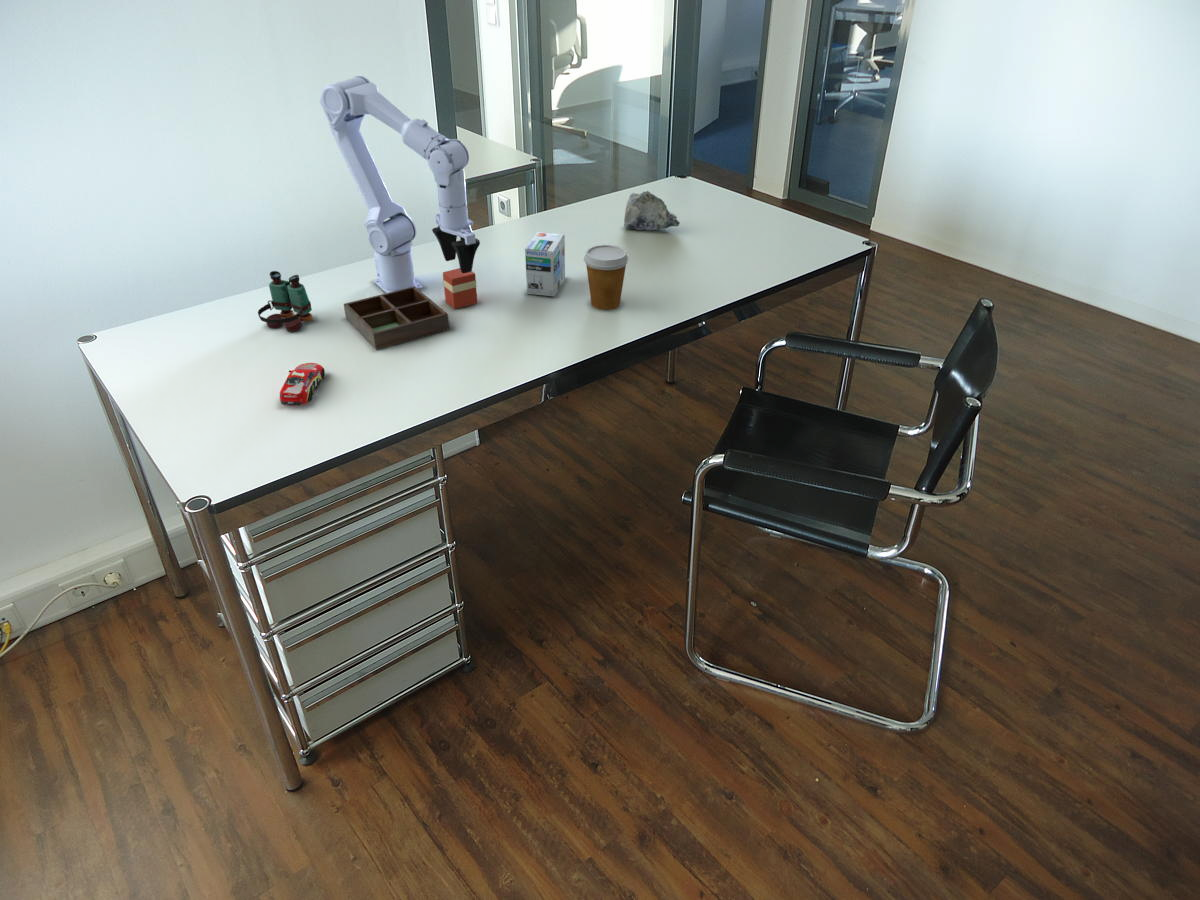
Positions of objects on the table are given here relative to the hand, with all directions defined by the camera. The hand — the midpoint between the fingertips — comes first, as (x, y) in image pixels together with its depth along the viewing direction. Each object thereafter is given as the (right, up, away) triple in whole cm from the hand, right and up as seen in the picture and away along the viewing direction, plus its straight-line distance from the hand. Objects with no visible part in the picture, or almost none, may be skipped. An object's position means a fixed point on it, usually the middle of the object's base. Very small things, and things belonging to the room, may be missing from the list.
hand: (458, 265), depth 183 cm
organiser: (-12, -13, -4) cm, 18 cm away
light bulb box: (+18, -2, +12) cm, 22 cm away
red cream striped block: (0, -7, +5) cm, 9 cm away
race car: (-24, -28, -25) cm, 45 cm away
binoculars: (-35, -14, -5) cm, 37 cm away
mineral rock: (+43, +18, +42) cm, 63 cm away
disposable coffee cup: (+32, -7, +5) cm, 33 cm away
